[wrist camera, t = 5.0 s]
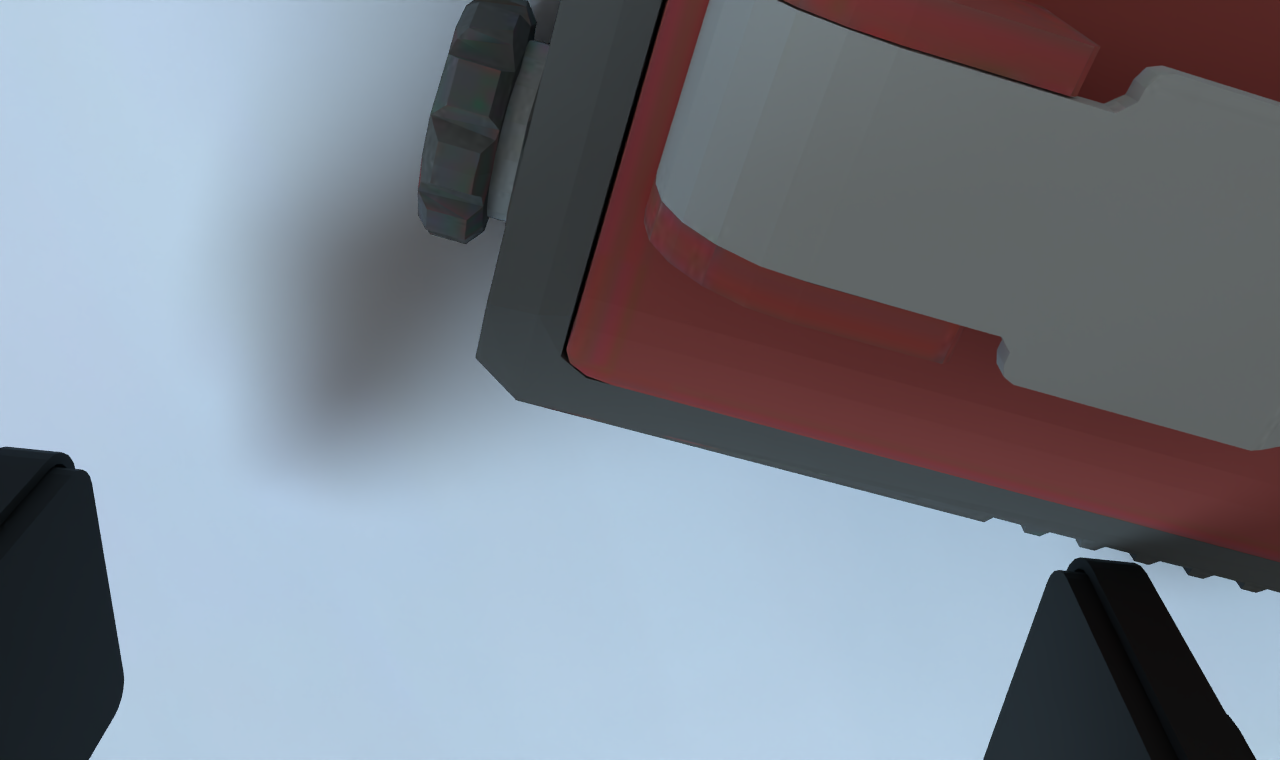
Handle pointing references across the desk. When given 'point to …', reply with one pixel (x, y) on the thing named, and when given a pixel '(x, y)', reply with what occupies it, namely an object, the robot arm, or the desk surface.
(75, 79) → the desk surface
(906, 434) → the walkie-talkie
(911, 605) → the desk surface
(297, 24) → the desk surface
